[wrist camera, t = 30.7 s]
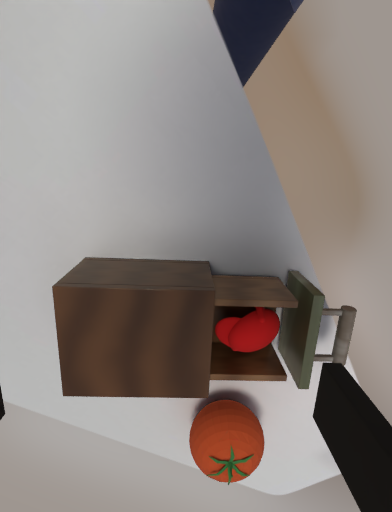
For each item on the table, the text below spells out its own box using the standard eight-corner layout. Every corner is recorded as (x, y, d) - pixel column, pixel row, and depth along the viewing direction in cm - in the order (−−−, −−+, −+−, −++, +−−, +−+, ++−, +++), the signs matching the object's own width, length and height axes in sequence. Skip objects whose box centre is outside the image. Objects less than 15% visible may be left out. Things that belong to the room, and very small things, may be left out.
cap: (273, 289, 38) (289, 311, 32) (273, 331, 39) (288, 359, 34) (210, 294, 38) (214, 317, 32) (213, 336, 39) (218, 365, 34)
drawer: (334, 271, 39) (370, 297, 31) (320, 349, 42) (349, 389, 34) (184, 267, 38) (184, 291, 30) (182, 347, 41) (180, 387, 33)
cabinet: (208, 261, 39) (215, 290, 29) (203, 347, 42) (208, 398, 33) (85, 257, 38) (51, 286, 29) (90, 345, 42) (62, 396, 32)
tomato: (265, 423, 46) (286, 490, 37) (206, 447, 47) (211, 518, 38) (240, 374, 44) (255, 431, 34) (177, 400, 45) (175, 463, 35)
